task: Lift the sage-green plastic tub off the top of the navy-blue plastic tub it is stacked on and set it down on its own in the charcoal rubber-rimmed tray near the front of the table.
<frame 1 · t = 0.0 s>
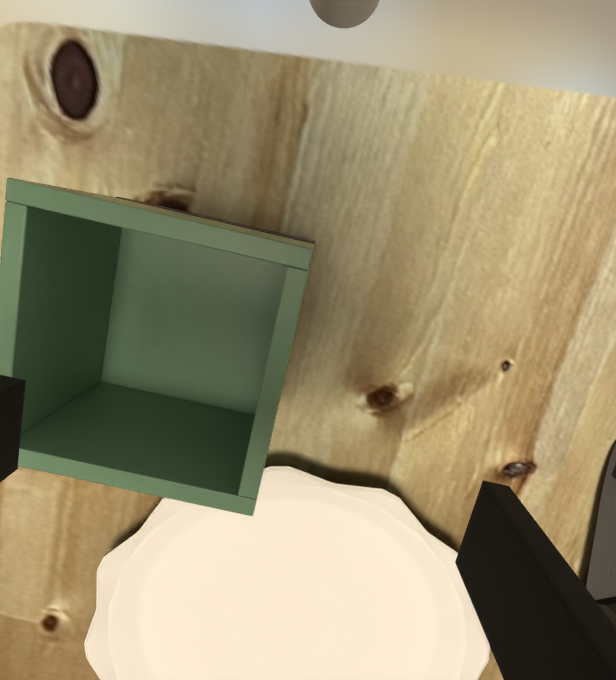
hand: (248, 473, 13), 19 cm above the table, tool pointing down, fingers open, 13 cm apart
green tub: (198, 318, 26), point 5 cm above the table, touching navy tub
plate: (287, 625, 37), on the table
knife: (593, 565, 35), on the table
navy tub: (217, 304, 31), on the table, touching green tub
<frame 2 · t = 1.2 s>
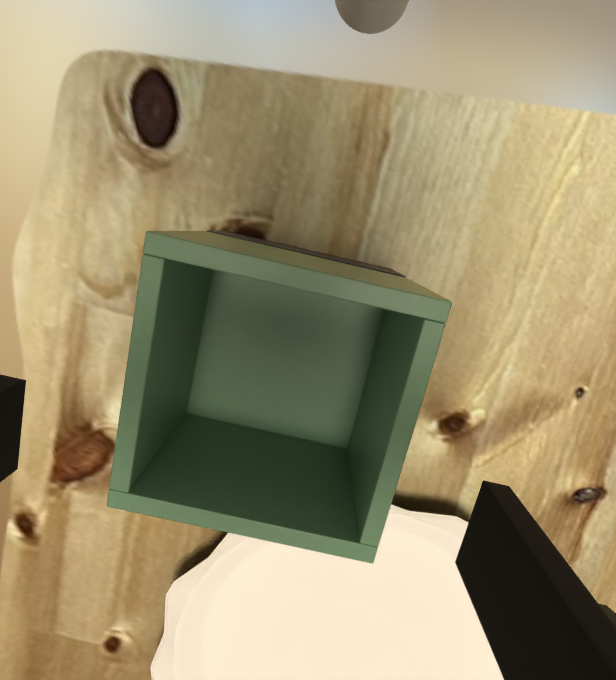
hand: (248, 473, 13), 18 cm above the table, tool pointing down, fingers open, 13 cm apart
green tub: (285, 351, 26), point 5 cm above the table, touching navy tub
plate: (349, 647, 37), on the table
navy tub: (290, 331, 31), on the table, touching green tub
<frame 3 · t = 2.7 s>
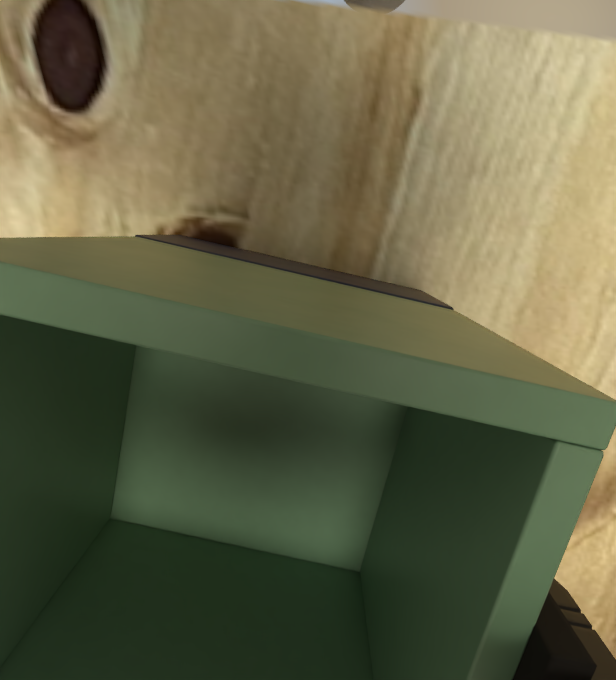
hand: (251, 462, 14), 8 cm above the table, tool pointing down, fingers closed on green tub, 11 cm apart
green tub: (263, 423, 17), point 5 cm above the table, touching gripper, navy tub
navy tub: (275, 379, 22), on the table, touching green tub
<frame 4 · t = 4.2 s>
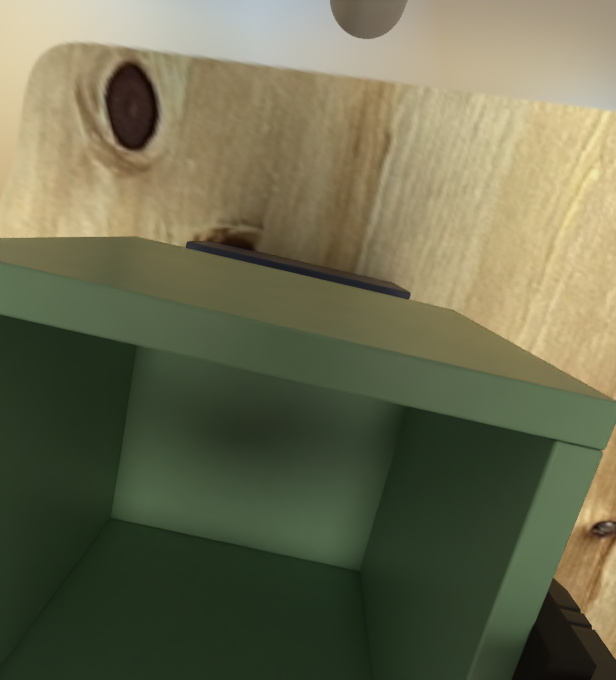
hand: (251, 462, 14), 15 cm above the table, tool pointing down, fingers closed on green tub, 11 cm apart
green tub: (263, 422, 17), point 12 cm above the table, touching gripper
navy tub: (282, 351, 28), on the table
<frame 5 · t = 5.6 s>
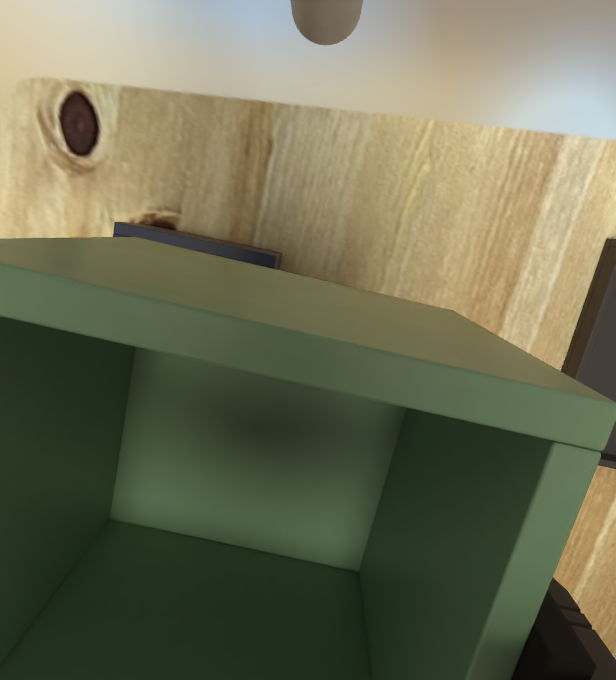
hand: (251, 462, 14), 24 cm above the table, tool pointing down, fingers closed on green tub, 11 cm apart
green tub: (262, 423, 17), point 21 cm above the table, touching gripper
navy tub: (201, 307, 37), on the table
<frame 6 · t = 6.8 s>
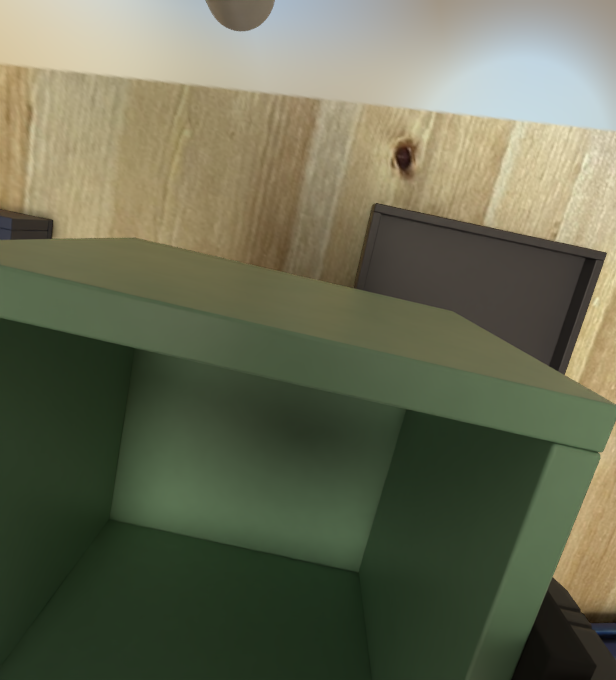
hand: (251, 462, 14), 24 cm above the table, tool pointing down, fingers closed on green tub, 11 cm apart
green tub: (262, 423, 17), point 21 cm above the table, touching gripper
flower pot: (575, 658, 44), on the table
tray: (451, 335, 38), on the table
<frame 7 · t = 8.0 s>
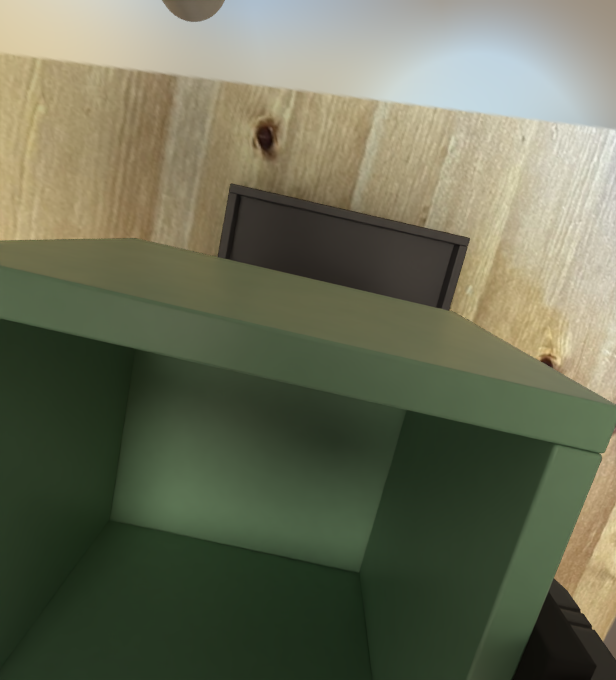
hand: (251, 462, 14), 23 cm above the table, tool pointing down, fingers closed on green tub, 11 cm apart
green tub: (262, 424, 17), point 20 cm above the table, touching gripper
tray: (323, 323, 36), on the table
when the fingers open (4 cm above the table, at t = 12.9 s): green tub stays where it is, resting on tray.
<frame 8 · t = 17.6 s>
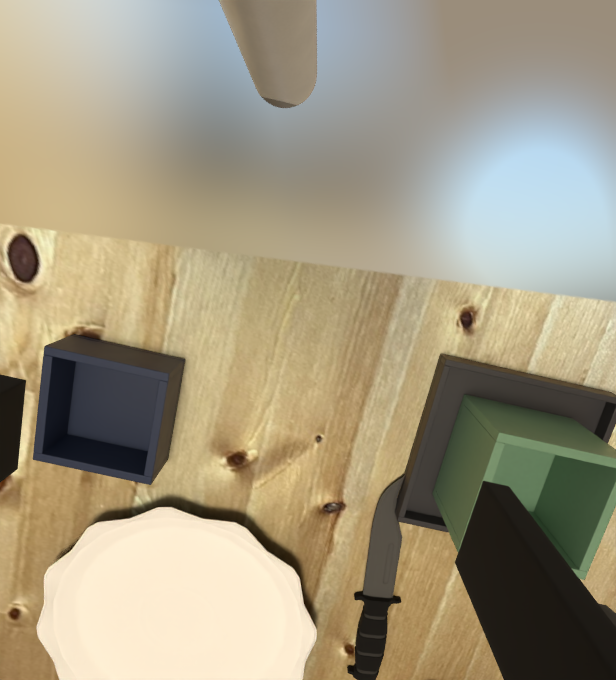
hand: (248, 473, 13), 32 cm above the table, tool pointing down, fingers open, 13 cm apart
green tub: (500, 457, 46), point 1 cm above the table, touching tray
plate: (182, 615, 52), on the table
knife: (379, 574, 51), on the table, touching tray
tray: (498, 452, 47), on the table
navy tub: (122, 398, 47), on the table
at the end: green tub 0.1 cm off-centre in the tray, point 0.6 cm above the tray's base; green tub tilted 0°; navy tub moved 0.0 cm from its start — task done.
